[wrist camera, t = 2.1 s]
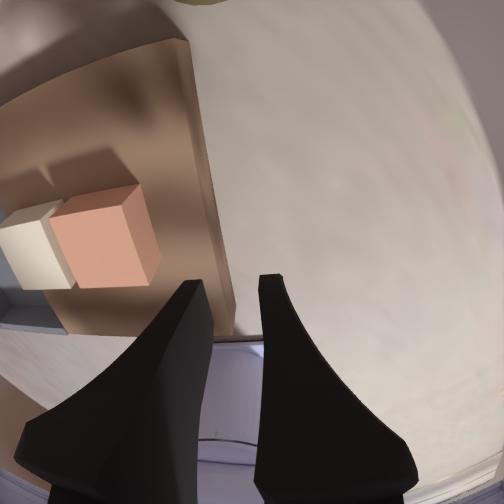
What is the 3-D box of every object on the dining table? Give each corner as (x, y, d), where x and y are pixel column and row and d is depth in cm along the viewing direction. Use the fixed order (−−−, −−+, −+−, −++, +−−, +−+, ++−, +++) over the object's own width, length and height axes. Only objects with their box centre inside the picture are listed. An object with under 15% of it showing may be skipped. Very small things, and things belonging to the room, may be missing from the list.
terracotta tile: (161, 257, 17) (149, 285, 15) (96, 262, 18) (80, 288, 16) (140, 183, 15) (121, 205, 13) (71, 197, 15) (48, 218, 13)
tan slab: (236, 305, 23) (232, 335, 21) (81, 309, 24) (68, 333, 22) (189, 42, 13) (173, 37, 11) (4, 110, 15) (-24, 121, 12)
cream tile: (88, 263, 18) (71, 288, 16) (40, 267, 18) (23, 289, 16) (62, 198, 15) (39, 220, 13) (15, 210, 16) (-7, 230, 14)
